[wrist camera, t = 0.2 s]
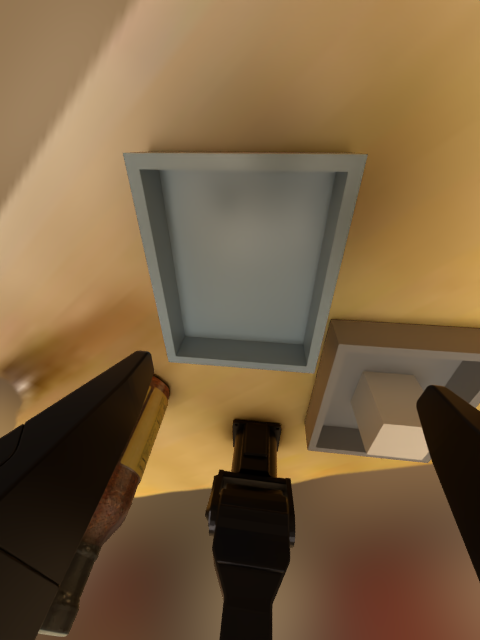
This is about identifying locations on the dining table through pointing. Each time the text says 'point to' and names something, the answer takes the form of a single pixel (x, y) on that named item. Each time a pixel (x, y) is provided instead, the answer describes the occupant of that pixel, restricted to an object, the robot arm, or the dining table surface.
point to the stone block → (389, 415)
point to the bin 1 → (244, 250)
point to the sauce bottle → (108, 510)
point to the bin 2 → (385, 357)
